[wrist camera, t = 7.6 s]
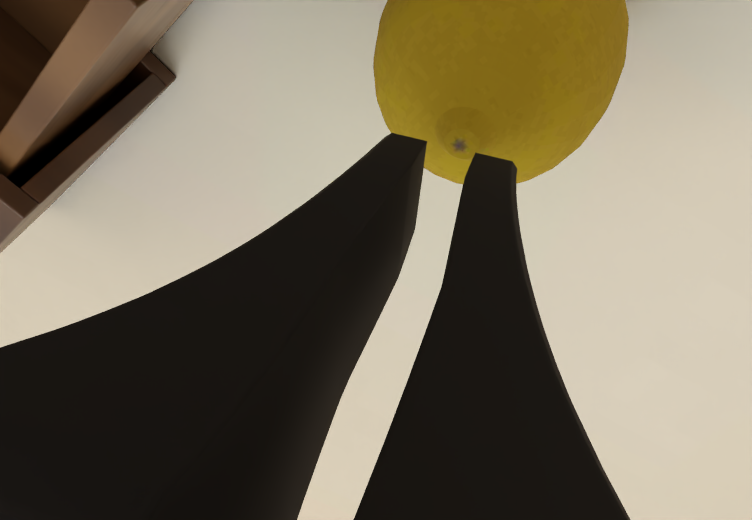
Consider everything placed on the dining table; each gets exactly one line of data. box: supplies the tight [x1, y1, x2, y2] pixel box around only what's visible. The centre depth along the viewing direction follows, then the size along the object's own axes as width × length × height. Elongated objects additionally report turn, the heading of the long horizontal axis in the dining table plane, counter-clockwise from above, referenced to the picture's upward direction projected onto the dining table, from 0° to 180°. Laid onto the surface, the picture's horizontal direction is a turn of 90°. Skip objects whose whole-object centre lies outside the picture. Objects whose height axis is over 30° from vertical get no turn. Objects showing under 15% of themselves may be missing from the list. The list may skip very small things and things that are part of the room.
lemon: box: [374, 0, 629, 184], centre depth 14 cm, size 6×6×8 cm
